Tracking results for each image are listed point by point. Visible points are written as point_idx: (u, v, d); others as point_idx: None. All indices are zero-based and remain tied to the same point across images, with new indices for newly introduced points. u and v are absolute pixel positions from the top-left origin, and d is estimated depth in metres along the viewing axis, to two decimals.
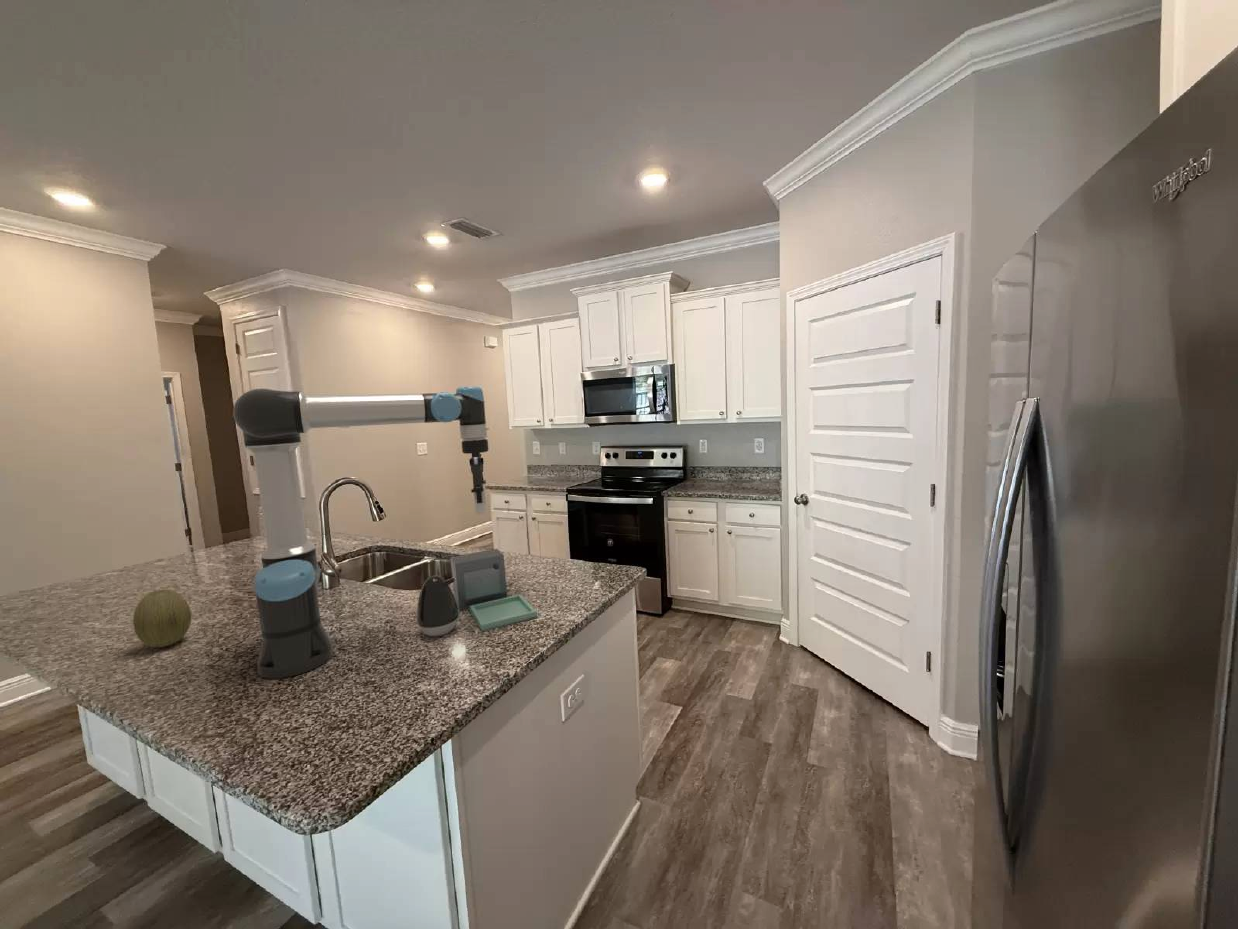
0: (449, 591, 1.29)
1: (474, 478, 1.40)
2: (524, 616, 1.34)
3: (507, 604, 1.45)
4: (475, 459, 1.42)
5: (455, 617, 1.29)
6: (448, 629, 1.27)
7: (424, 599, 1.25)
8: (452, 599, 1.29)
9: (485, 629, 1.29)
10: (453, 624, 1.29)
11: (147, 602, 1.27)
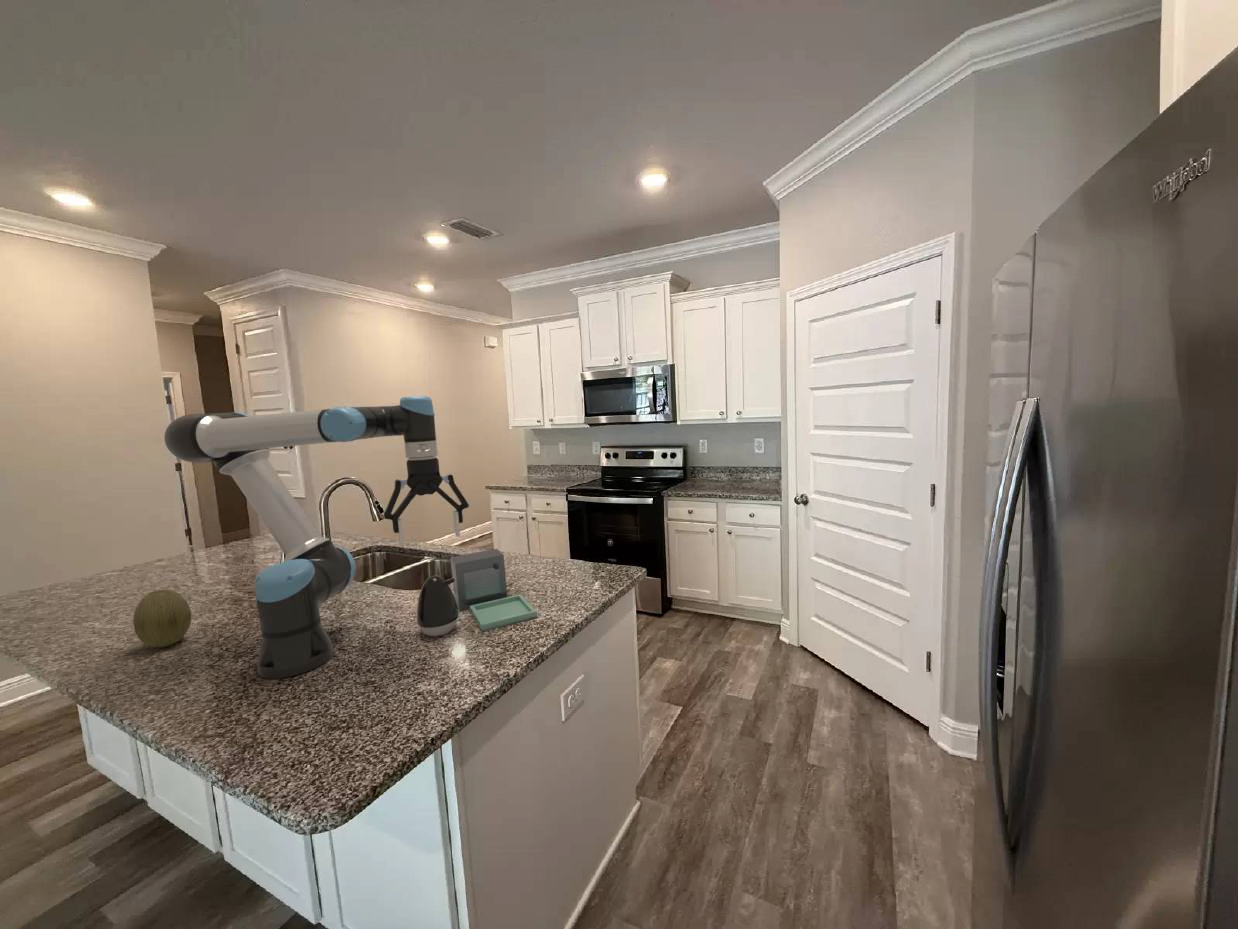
0: (449, 591, 1.29)
1: (388, 503, 1.23)
2: (524, 616, 1.34)
3: (507, 604, 1.45)
4: (395, 482, 1.22)
5: (455, 617, 1.29)
6: (448, 629, 1.27)
7: (424, 599, 1.25)
8: (452, 599, 1.29)
9: (485, 629, 1.29)
10: (453, 624, 1.29)
11: (147, 602, 1.27)
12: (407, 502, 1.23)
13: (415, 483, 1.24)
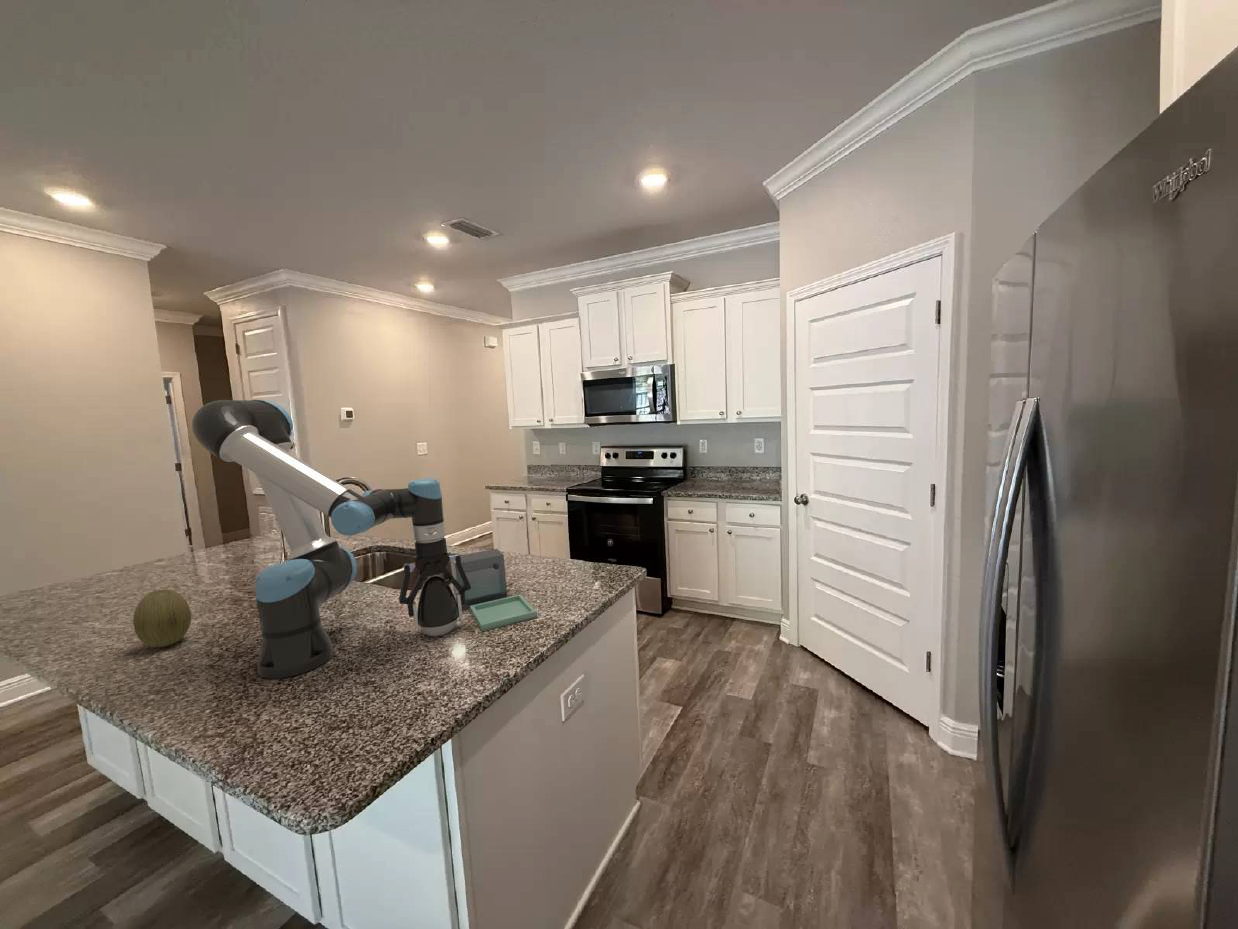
0: (449, 591, 1.29)
1: (401, 588, 1.26)
2: (524, 616, 1.34)
3: (507, 604, 1.45)
4: None
5: (455, 617, 1.29)
6: (448, 629, 1.27)
7: (424, 599, 1.25)
8: (452, 599, 1.29)
9: (485, 629, 1.29)
10: (453, 624, 1.29)
11: (147, 602, 1.27)
12: (419, 585, 1.26)
13: (423, 564, 1.26)
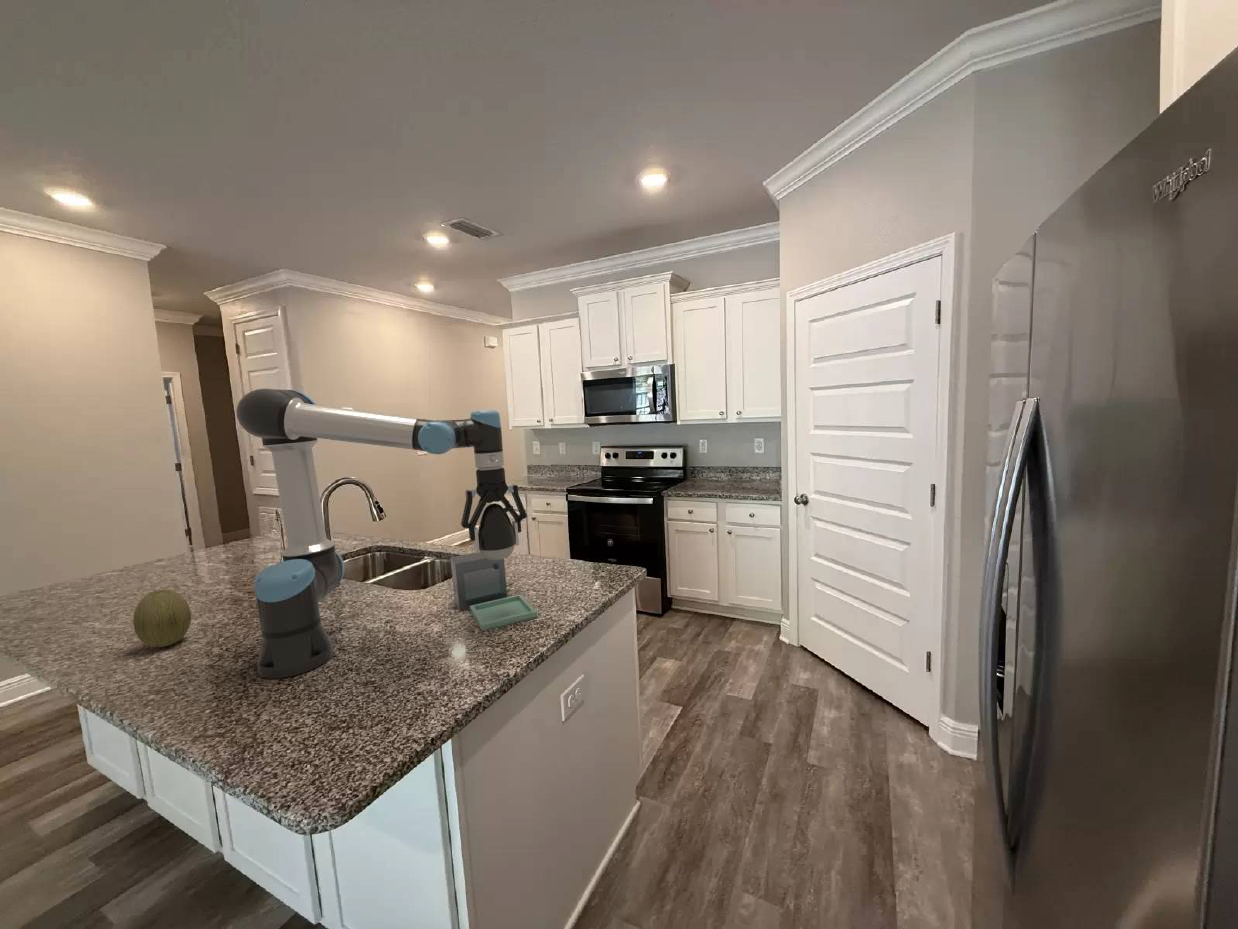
0: (508, 518, 1.35)
1: (463, 513, 1.32)
2: (524, 616, 1.34)
3: (507, 604, 1.45)
4: (466, 493, 1.31)
5: (513, 542, 1.35)
6: (507, 553, 1.34)
7: (485, 523, 1.32)
8: (511, 525, 1.35)
9: (485, 629, 1.29)
10: (512, 549, 1.35)
11: (147, 602, 1.27)
12: (480, 510, 1.32)
13: (484, 491, 1.33)
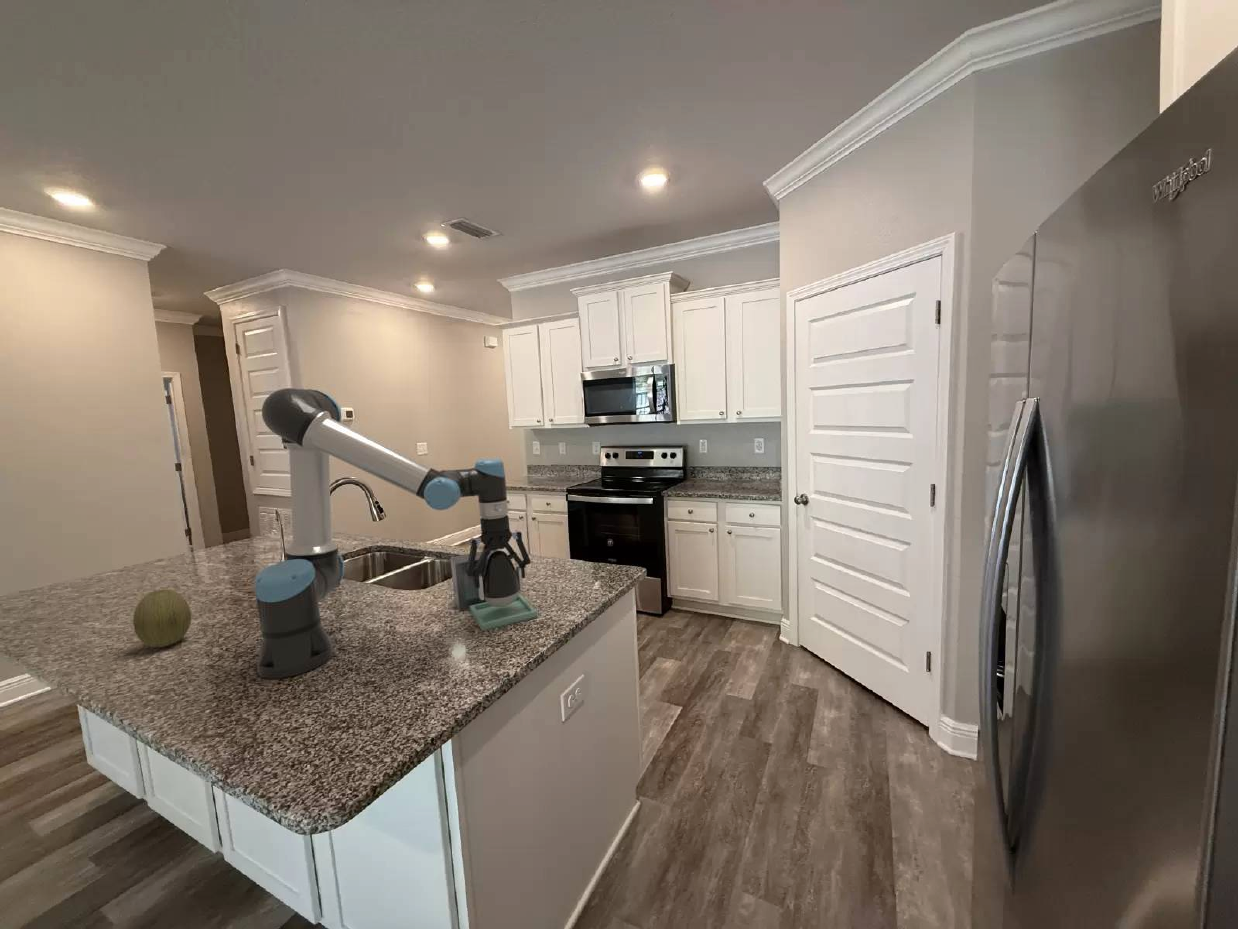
0: (512, 565, 1.37)
1: (468, 561, 1.34)
2: (524, 616, 1.34)
3: None
4: (470, 541, 1.33)
5: (517, 589, 1.37)
6: (511, 600, 1.36)
7: (489, 571, 1.34)
8: (515, 572, 1.37)
9: (485, 629, 1.29)
10: (516, 596, 1.37)
11: (147, 602, 1.27)
12: (484, 558, 1.34)
13: (488, 539, 1.34)
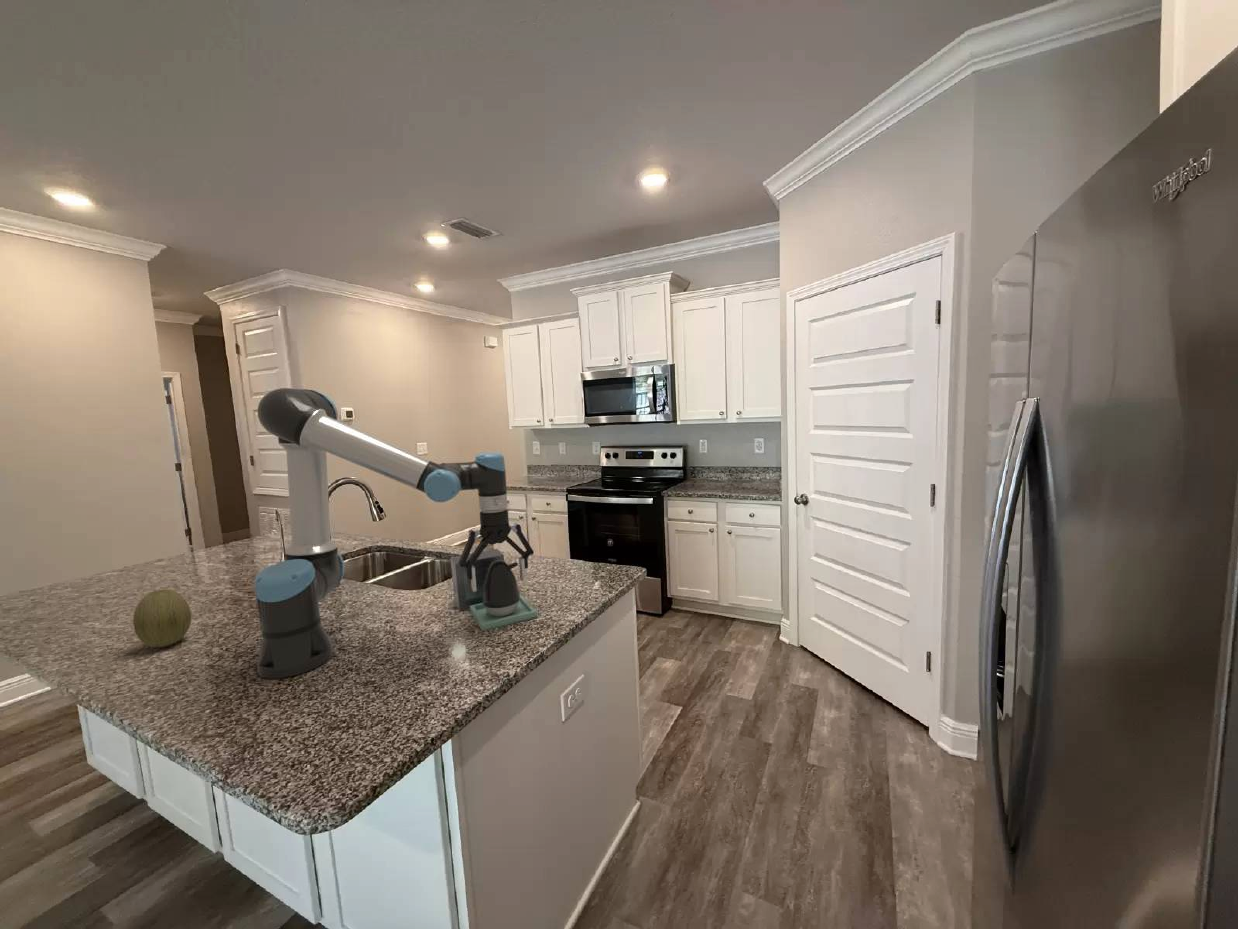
0: (512, 574, 1.37)
1: (463, 552, 1.33)
2: (524, 616, 1.34)
3: None
4: (469, 532, 1.33)
5: (518, 599, 1.37)
6: (512, 610, 1.36)
7: (490, 581, 1.34)
8: (515, 582, 1.37)
9: (485, 629, 1.29)
10: (516, 605, 1.37)
11: (147, 602, 1.27)
12: (480, 551, 1.33)
13: (487, 533, 1.34)
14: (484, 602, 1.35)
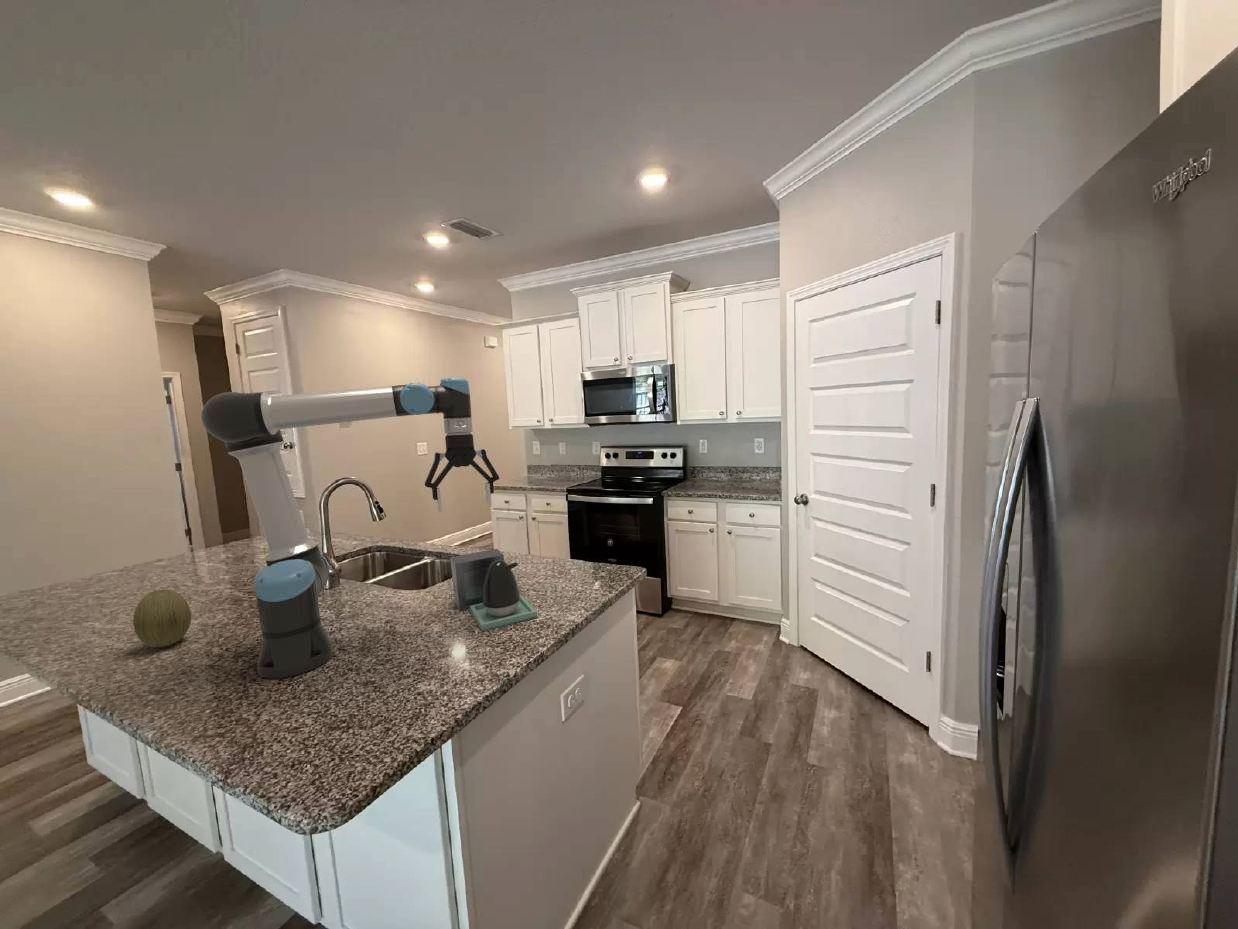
0: (512, 574, 1.37)
1: None
2: (524, 616, 1.34)
3: None
4: (435, 454, 1.37)
5: (518, 599, 1.37)
6: (512, 610, 1.36)
7: (490, 581, 1.34)
8: (515, 582, 1.37)
9: (485, 629, 1.29)
10: (516, 605, 1.37)
11: (147, 602, 1.27)
12: (445, 472, 1.38)
13: (452, 456, 1.38)
14: (484, 602, 1.35)
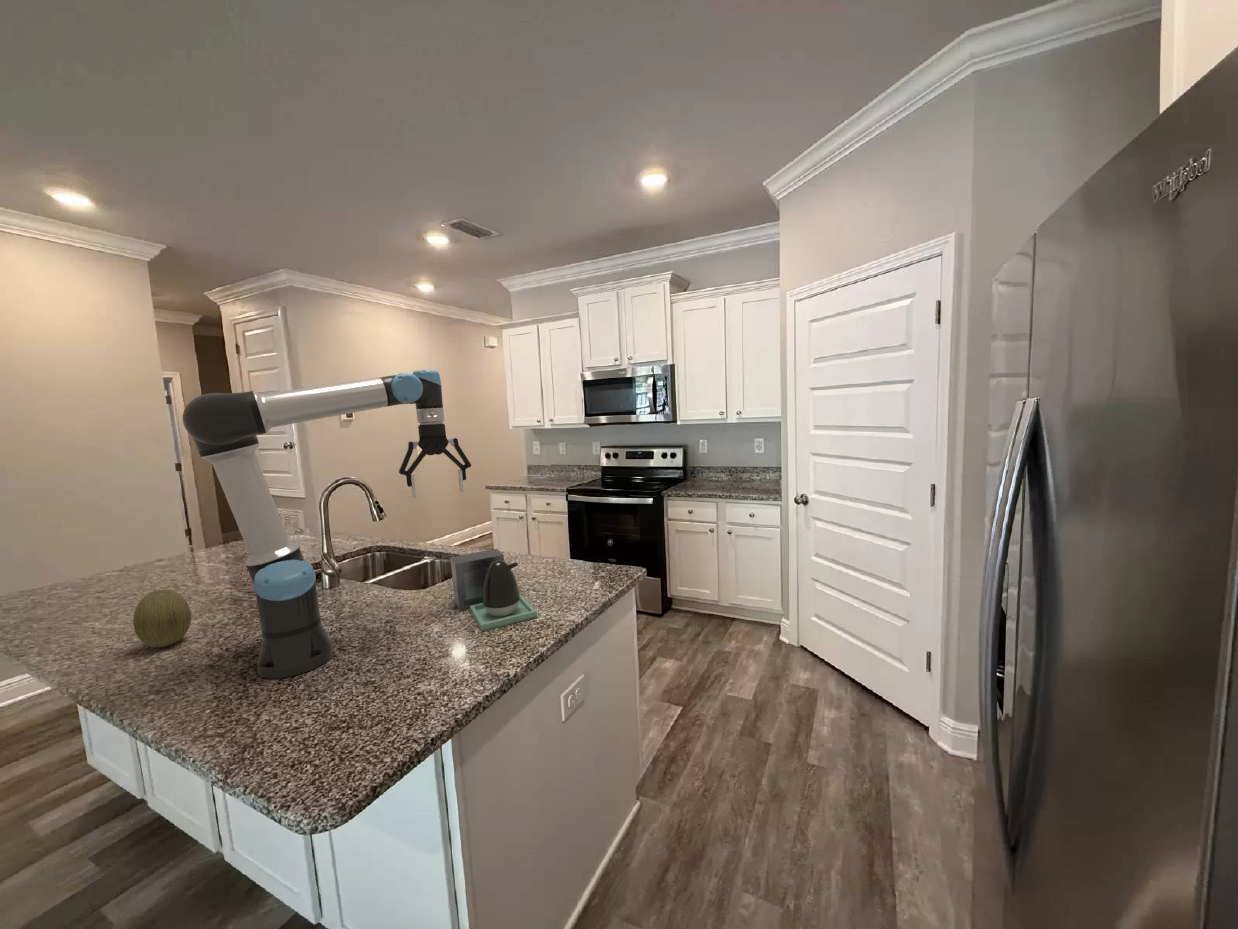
0: (512, 574, 1.37)
1: None
2: (524, 616, 1.34)
3: None
4: (408, 443, 1.44)
5: (518, 599, 1.37)
6: (512, 610, 1.36)
7: (490, 581, 1.34)
8: (515, 582, 1.37)
9: (485, 629, 1.29)
10: (516, 605, 1.37)
11: (147, 602, 1.27)
12: (419, 460, 1.45)
13: (425, 444, 1.45)
14: (484, 602, 1.35)
